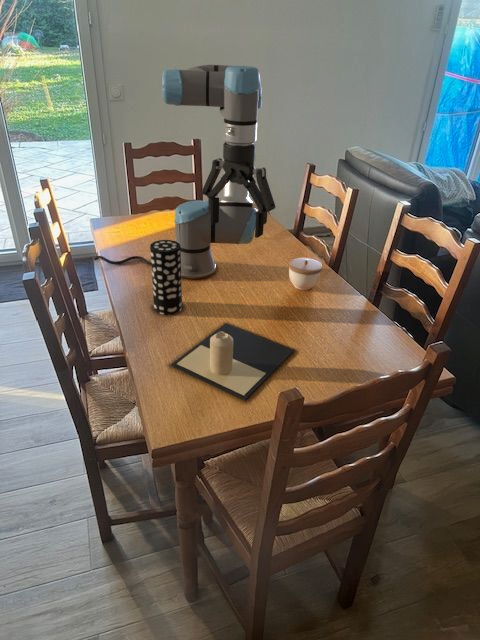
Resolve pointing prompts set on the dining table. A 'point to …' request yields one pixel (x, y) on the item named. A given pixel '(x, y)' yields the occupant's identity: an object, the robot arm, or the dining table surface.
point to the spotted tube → (166, 276)
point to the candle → (221, 353)
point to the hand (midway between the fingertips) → (236, 229)
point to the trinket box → (304, 272)
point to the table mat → (236, 362)
